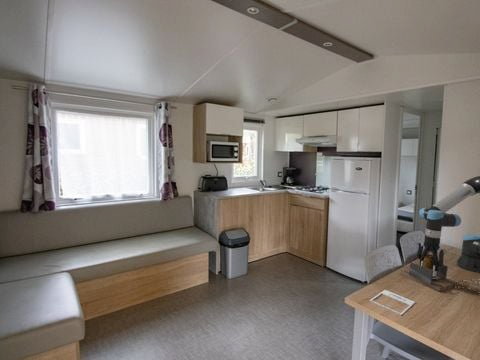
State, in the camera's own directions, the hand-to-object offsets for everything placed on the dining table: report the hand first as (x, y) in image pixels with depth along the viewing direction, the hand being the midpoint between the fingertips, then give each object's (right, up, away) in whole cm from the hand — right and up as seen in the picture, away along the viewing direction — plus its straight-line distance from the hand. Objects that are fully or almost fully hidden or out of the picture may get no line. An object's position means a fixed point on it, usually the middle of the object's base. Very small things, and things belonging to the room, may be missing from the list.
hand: (427, 273), depth 161 cm
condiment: (0, -1, -1) cm, 1 cm away
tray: (0, -4, 0) cm, 4 cm away
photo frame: (-36, -6, -26) cm, 45 cm away
